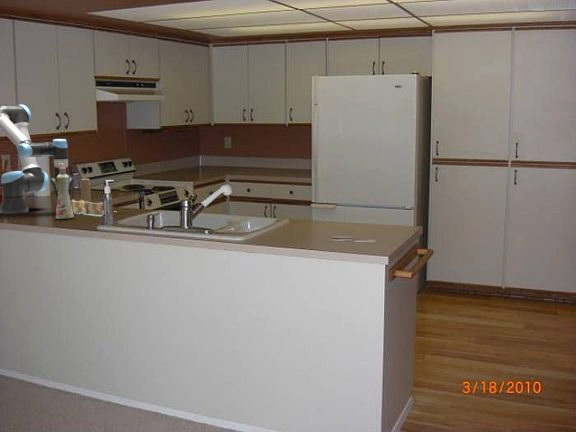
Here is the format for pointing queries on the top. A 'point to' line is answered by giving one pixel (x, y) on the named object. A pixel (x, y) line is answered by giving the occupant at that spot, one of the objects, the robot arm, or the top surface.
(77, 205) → the fence panel
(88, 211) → the fence fixed leg
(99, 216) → the board
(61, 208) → the bottle
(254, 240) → the top surface
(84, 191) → the wooden block
